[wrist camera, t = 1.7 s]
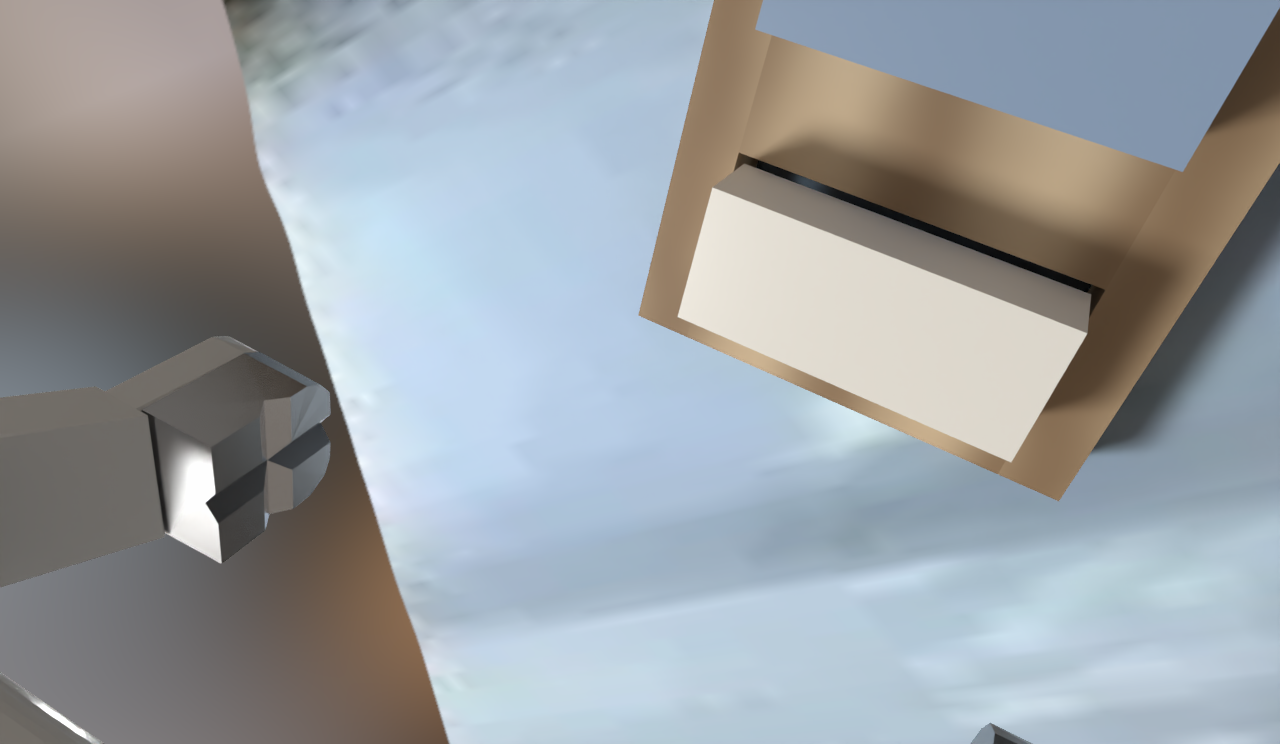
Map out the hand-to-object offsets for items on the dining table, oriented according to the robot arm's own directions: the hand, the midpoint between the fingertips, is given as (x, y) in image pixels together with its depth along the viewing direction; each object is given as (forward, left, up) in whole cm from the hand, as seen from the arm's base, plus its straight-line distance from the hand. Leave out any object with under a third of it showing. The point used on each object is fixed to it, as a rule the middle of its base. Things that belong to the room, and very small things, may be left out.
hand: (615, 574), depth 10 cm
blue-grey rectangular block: (0, -4, -22) cm, 23 cm away
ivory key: (0, +6, -22) cm, 23 cm away
